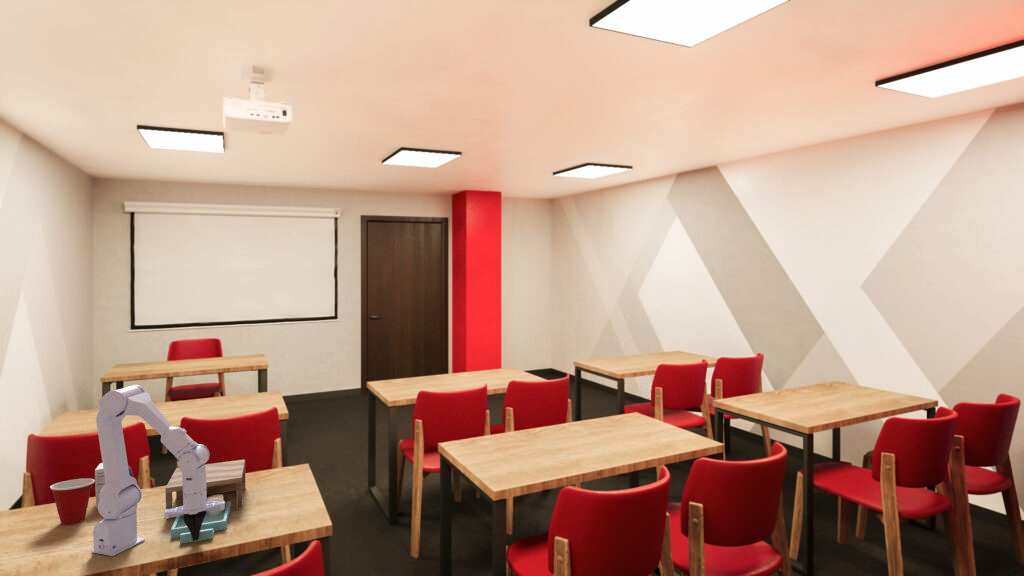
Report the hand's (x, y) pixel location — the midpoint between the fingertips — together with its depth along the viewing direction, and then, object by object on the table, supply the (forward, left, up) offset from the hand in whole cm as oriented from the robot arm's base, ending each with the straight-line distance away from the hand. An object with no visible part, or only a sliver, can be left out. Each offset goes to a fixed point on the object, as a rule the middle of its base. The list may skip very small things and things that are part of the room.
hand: (195, 539), depth 154 cm
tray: (+9, +8, -1) cm, 12 cm away
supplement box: (+15, +52, -1) cm, 55 cm away
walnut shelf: (+24, +20, -1) cm, 31 cm away
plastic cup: (+1, +49, -1) cm, 49 cm away
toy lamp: (+5, +33, -1) cm, 34 cm away
